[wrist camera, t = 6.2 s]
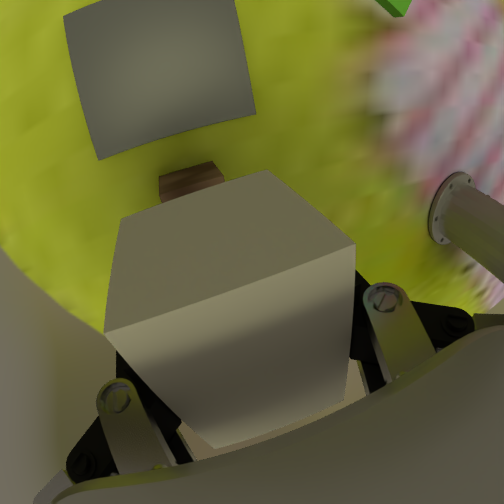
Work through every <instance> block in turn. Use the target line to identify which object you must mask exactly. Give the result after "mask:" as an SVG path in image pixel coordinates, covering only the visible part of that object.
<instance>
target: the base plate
mask: <svg viewBox="0 0 504 504" xmlns="http://www.w3.org/2000/svg"><path fill="white" fill-rule="evenodd" d="M63 19H64V26H65V32H66V38H67V43H68V48H69V54H70V58H71V63H72V68H73V72H74V77H75V81H76V85H77V89H78V93H79V97H80V101H81V105H82V108H83V112H84V115H85V119H86V122H87V126H88V129H89V132H90V136H91V139H92V142H93V145H94V148H95V151H96V154H97V157H98V160H102V159H104V158H107V157H109V156H112V155H115V154H117V153H120V152H123V151H125V150H128V149H131V148H134V147H137V146H140V145H143V144H146V143H149V142H152V141H155V140H158V139H161V138H164V137H167V136H171V135H174V134H177V133H181V132H184V131H188V130H192V129H195V128H199V127H203V126H207V125H210V124H214V123H219V122H223V121H227V120H231V119H236V118H240V117H245V116H250V115H255V114H256V110H255V104H254V99H253V93H252V88H251V83H250V77H249V72H248V67H247V61H246V56H245V51H244V46H243V41H242V36H241V31H240V26H239V21H238V16H237V12H236V7H235V2H234V0H101V1H99V2H96V3H93V4H91V5H88V6H86V7H83V8H81V9H78V10H76V11H74V12H72V13H69V14H67V15H65V16H63Z"/></svg>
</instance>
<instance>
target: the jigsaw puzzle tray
mask: <svg viewBox="0 0 504 504" xmlns="http://www.w3.org/2000/svg"><path fill="white" fill-rule="evenodd" d="M376 1H377V2H378V3H379V4H380V5H381V6H382V7H383V8H385V9H386V10H387V11H388V12H389V13H390V14H391V15H392V16H393V17H403V16H405V14H406V11H407V9H408V7H409V5H410V3H411V1H412V0H376Z"/></svg>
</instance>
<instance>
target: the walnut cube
mask: <svg viewBox="0 0 504 504" xmlns="http://www.w3.org/2000/svg"><path fill="white" fill-rule="evenodd" d="M224 182H225V181H224V176H223V175H222V173H221V172H220V171H219V169H218V168H217V167H216V165H215V164H214V163H213V161H210V162H206V163H203V164H199V165H196V166H192V167H189V168H185V169H182V170H179V171H176V172H172V173H169V174H166V175H163V176H160V177H159V196H160V199H161V202H162V203H165V202H167V201H170V200H173V199H176V198H179V197H181V196H184V195H187V194H190V193H193V192H196V191H199V190H202V189H205V188H208V187H211V186H214V185H217V184H221V183H224Z"/></svg>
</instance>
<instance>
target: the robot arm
mask: <svg viewBox="0 0 504 504" xmlns="http://www.w3.org/2000/svg"><path fill="white" fill-rule="evenodd" d="M429 232H430V236H431V237H432V239H433V240H434V241H436V242H437V243H438V244H442V245H444V244H448V243H450V242H453V243H454V244H455V245H457V246H458V247H459V248H461V249H462V250H463V251H464V252H466V253H467V254H468V255H470V256H471V257H472V258H473V259H475V260H476V261H477V262H478V263H480V264H481V265H482V266H483V267H485V268H486V269H487V270H488V271H490V272H491V273H492V274H493V275H494V276H495V277H497V278H498V279H499V280H500V281H501V282H502V283H504V205H502V204H501V203H499V202H497V201H496V200H494V199H492V198H491V197H490V196H489V195H485V194H484V193H482V192H480V191H478V190H477V189H476V187H475V183H474V180H473V179H472V177H471V176H469V175H468V174H466V173H464V172H458V173H455V174H453V175H451V176H450V177H449V178H448V179H447V180H446V181H445V182H444V183H443V184H442V186H441V188H440V189H439V191H438V193H437V195H436V196H435V199H434V201H433V204H432V207H431V211H430V216H429ZM349 357H350V358H351V359H354V360H357V364H358V368H359V371H360V375H361V378H362V382H363V386H364V389H365V393H366V397H364V398H362V399H360V400H359V401H356V402H354V403H353V404H350V405H348V406H346V407H345V408H342V409H340V410H338V411H336V412H334V413H332V414H330V415H328V416H325V417H324V418H321V419H319V420H317V421H314V422H312V423H310V424H307V425H305V426H303V427H300V428H298V429H295V430H293V431H290V432H288V433H285V434H283V435H280V436H277V437H275V438H272V439H269V440H266V441H264V442H261V443H258V444H255V445H252V446H249V447H245V448H242V449H239V450H236V451H232V452H229V453H226V454H222V455H218V456H215V457H211V458H207V459H203V460H199V461H197V459H196V457H195V456H194V454H193V452H192V451H191V449H190V448H189V446H188V444H187V442H186V441H185V439H184V437H183V435H182V434H181V432H180V430H179V429H178V427H179V426H180V424H181V423H182V422H181V419H180V418H179V417H178V416H177V415H176V414H175V413H174V412H173V411H172V410H171V409H170V408H169V407H168V406H167V405H166V404H165V403H164V402H163V401H162V400H161V399H160V398H159V397H158V396H157V395H156V394H155V393H154V392H153V391H152V390H151V389H150V388H149V386H148V385H147V384H146V383H145V382H144V381H143V380H142V379H141V378H140V377H139V376H138V374H137V373H136V372H135V371H134V370H133V369H132V368H131V367H130V365H129V364H128V363H127V362H126V361H125V360H124V358H123V357H122V356H121V355H120V354H119V352H118V351H117V350H116V379H113V380H110V381H109V382H107V383H106V384H104V386H103V387H102V388H101V389H100V391H99V393H98V395H97V399H96V407H97V410H98V414H99V416H98V417H97V418H96V420H95V421H94V422H93V424H92V425H91V426H90V427H89V429H88V430H87V431H86V432H85V434H84V435H83V436H82V438H81V439H80V440H79V441H78V443H77V444H76V446H75V447H74V448H73V449H72V451H71V452H70V454H69V456H68V457H67V461H66V470H63V469H61V470H60V471H59V472H58V473H57V474H56V475H55V476H54V477H53V479H51V480H50V482H49V483H48V484H47V485H46V486H45V487H44V488H43V489H42V490H41V491H40V492H39V493H38V494H37V495H36V497H35V498H34V501H33V504H504V314H477V313H474V314H473V317H471V316H470V315H469V314H468V313H467V312H466V311H464V310H462V309H459V308H455V307H448V306H441V305H435V304H428V303H421V302H415V301H410V300H409V298H408V296H407V294H406V293H405V291H404V290H403V289H402V288H400V287H399V286H397V285H395V284H392V283H386V282H383V283H376V284H374V285H370V284H369V283H368V282H367V281H366V280H365V279H364V278H363V277H362V276H361V275H360V274H359V273H358V272H357V271H356V270H355V287H354V306H353V320H352V333H351V344H350V353H349Z"/></svg>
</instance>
